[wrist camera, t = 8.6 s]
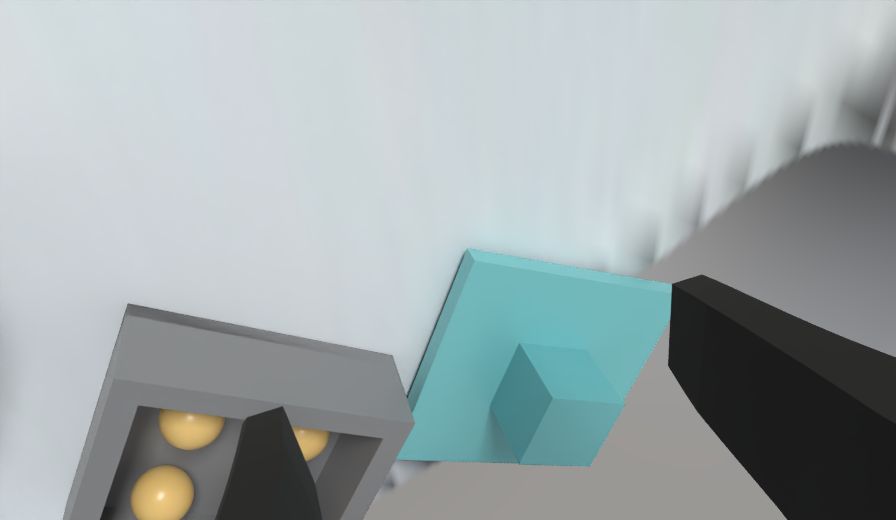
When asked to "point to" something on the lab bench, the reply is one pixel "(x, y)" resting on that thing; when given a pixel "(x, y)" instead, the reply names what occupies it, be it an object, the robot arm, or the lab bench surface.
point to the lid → (531, 362)
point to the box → (231, 417)
